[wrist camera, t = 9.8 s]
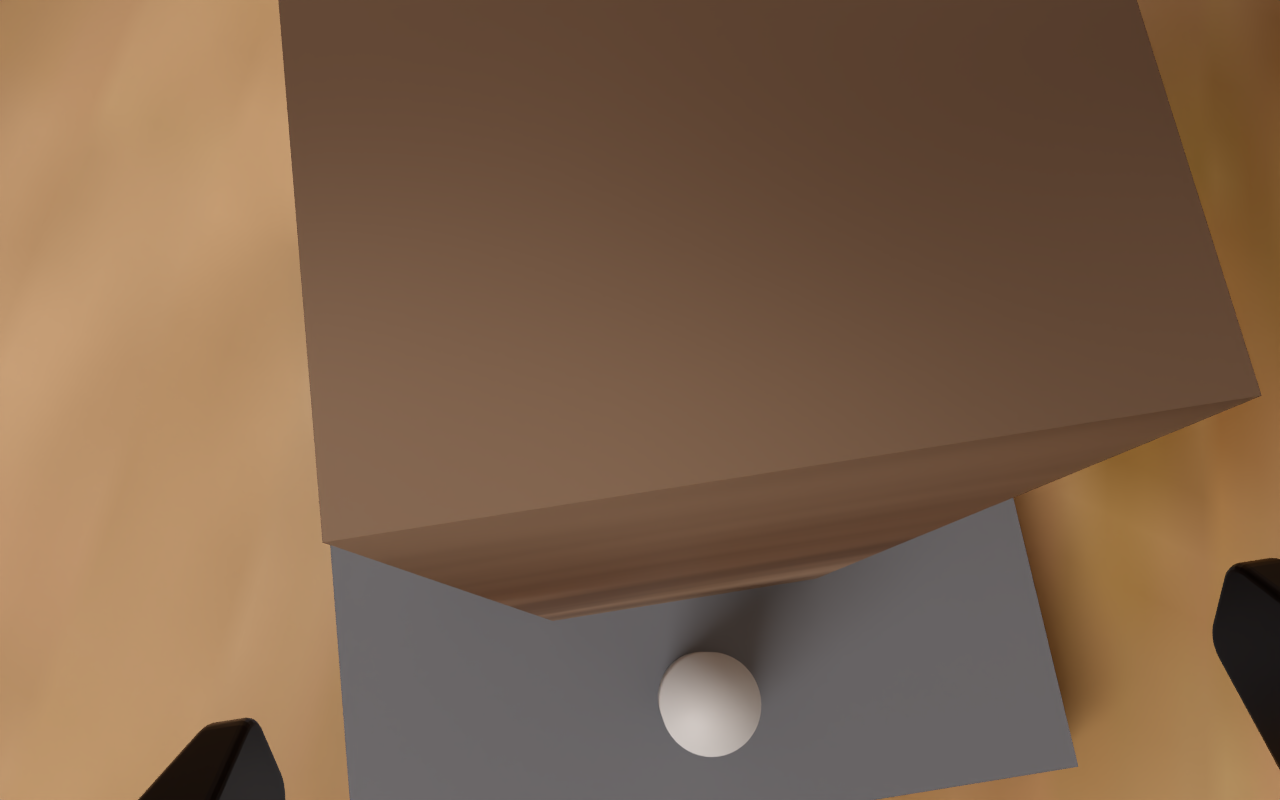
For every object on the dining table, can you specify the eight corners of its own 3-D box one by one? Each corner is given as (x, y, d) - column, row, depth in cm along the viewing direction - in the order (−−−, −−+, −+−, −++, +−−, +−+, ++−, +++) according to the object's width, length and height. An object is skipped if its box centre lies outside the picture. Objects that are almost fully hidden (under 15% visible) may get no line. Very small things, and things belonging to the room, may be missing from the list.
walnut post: (816, 578, 19) (1260, 394, 5) (552, 620, 19) (320, 542, 5) (766, 327, 20) (1029, -342, 7) (518, 365, 20) (258, -243, 6)
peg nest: (1051, 759, 19) (1145, 784, 16) (373, 869, 19) (311, 921, 15) (907, 148, 22) (958, 52, 19) (322, 229, 22) (259, 147, 18)
